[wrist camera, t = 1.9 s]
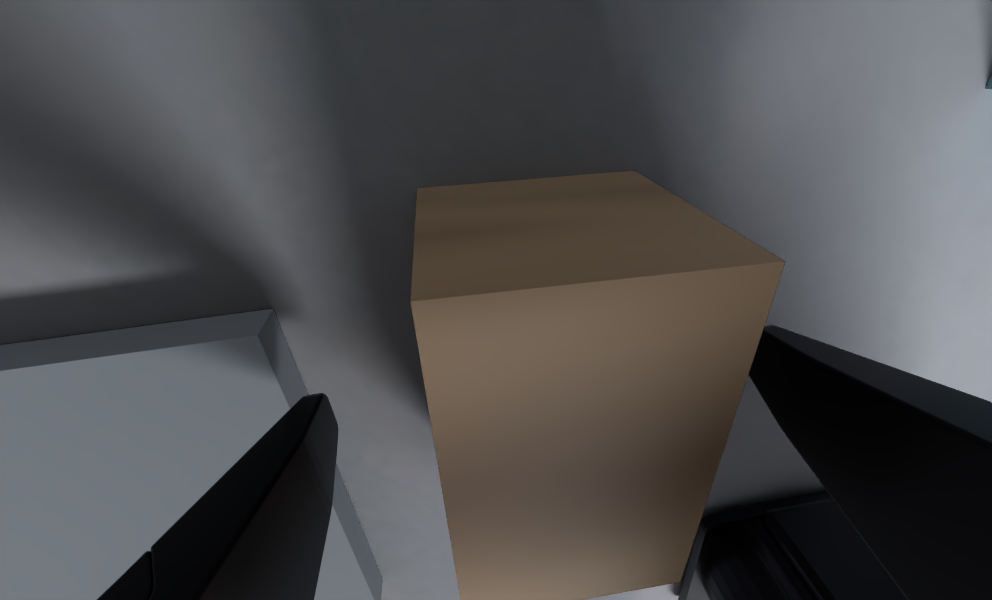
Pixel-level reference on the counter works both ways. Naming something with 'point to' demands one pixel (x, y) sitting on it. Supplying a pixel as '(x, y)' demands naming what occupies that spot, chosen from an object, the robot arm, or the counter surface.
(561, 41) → the counter surface
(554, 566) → the walnut brick
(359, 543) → the base plate
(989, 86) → the teal brick
